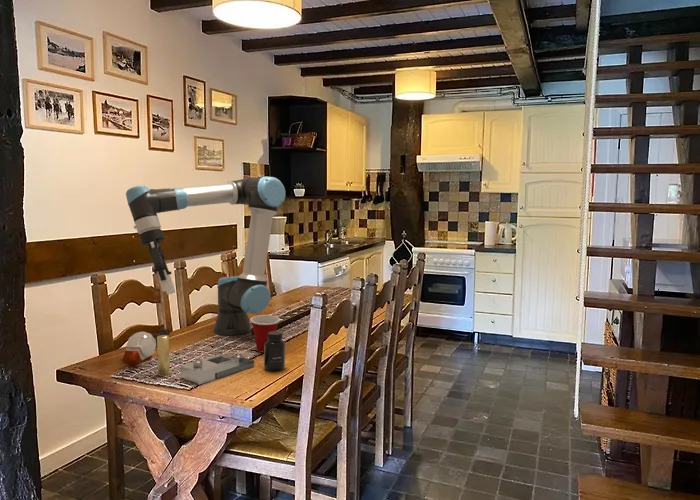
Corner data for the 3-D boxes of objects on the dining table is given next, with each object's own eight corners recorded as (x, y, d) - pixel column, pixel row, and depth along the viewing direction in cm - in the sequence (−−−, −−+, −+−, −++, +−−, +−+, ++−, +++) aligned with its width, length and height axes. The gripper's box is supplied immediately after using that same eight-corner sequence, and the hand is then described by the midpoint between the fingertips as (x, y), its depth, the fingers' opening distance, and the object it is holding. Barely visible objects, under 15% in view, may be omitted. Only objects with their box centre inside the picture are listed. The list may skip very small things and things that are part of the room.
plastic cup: (255, 356, 180) (255, 322, 179) (246, 347, 190) (246, 316, 188) (284, 352, 185) (284, 320, 184) (274, 344, 195) (274, 313, 193)
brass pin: (165, 370, 163) (164, 334, 162) (172, 373, 161) (171, 336, 160) (155, 373, 160) (154, 336, 159) (162, 376, 158) (161, 338, 157)
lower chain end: (236, 360, 174) (236, 350, 174) (254, 366, 169) (254, 356, 169) (198, 372, 162) (198, 361, 162) (216, 379, 157) (216, 368, 156)
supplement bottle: (275, 373, 163) (275, 336, 162) (259, 369, 166) (259, 333, 165) (289, 367, 169) (289, 332, 167) (273, 363, 172) (273, 329, 171)
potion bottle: (150, 357, 181) (137, 376, 166) (126, 342, 179) (110, 361, 164) (164, 337, 180) (153, 355, 165) (140, 322, 178) (126, 339, 163)
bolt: (168, 341, 203) (156, 351, 188) (156, 335, 202) (144, 344, 187) (175, 329, 203) (164, 338, 188) (164, 322, 202) (152, 331, 187)
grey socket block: (221, 365, 169) (220, 349, 169) (239, 371, 164) (239, 354, 163) (180, 378, 157) (180, 360, 156) (198, 384, 152) (198, 367, 151)
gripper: (144, 241, 180) (162, 298, 179) (131, 227, 156) (152, 293, 155) (165, 235, 182) (183, 291, 181) (156, 220, 158) (177, 285, 157)
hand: (169, 292), depth 168 cm, fingers open, 13 cm apart
